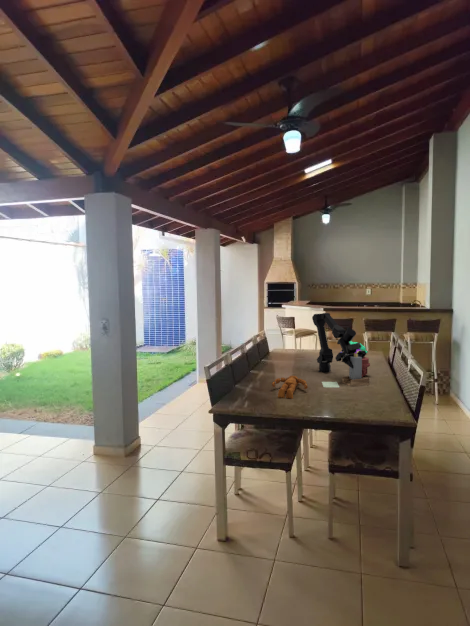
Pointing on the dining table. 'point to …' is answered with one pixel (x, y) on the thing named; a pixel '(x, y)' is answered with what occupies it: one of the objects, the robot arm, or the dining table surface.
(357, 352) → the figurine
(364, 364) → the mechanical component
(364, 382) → the walnut rack
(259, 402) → the dining table surface
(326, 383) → the sage mat
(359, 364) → the slate block
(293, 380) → the toy
